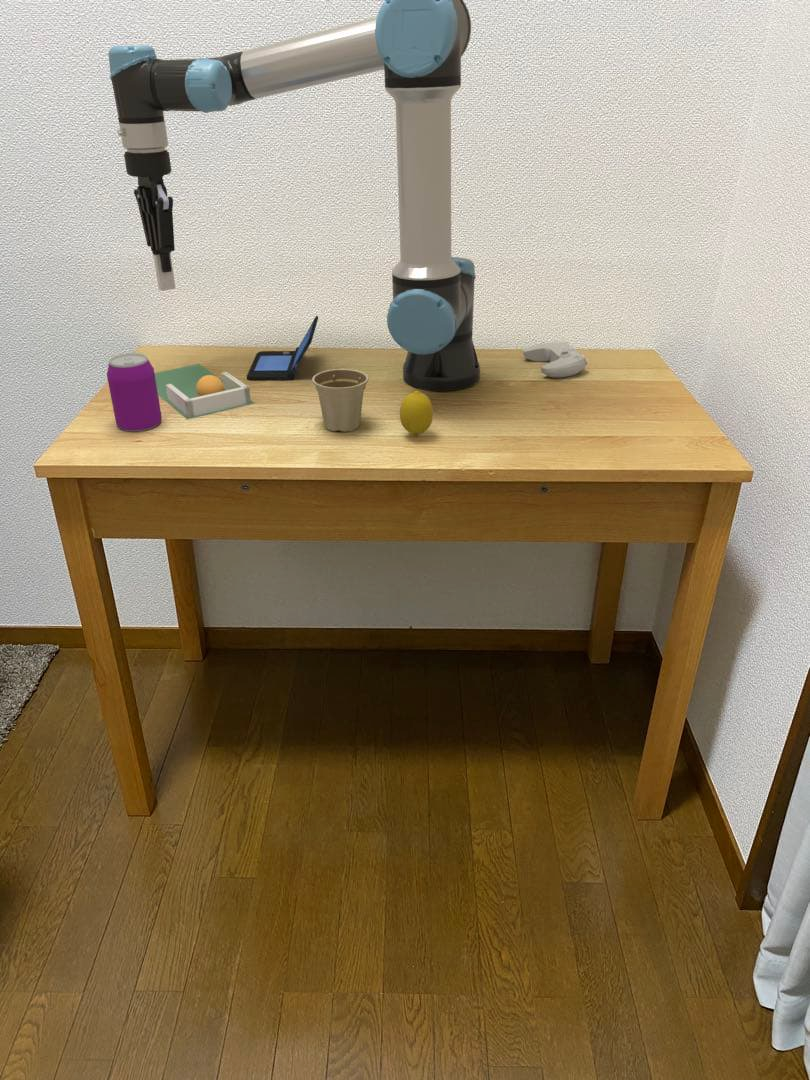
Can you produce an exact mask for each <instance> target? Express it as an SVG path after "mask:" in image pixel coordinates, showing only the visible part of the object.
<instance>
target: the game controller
mask: <svg viewBox="0 0 810 1080" xmlns="http://www.w3.org/2000/svg"><path fill="white" fill-rule="evenodd" d="M522 355H523V356H524V358H526V359H527V360H530V361H532V362H547V363H545V364H544V365H542V366H541V367H540V371H541V373H542V374H543V375H545V376H547V377H549V378H553V379H562V378H568V377H571V376H575V375H577V374H579V373H580V372H582V371H583V370H584V369H585V368H586V366H588V362H587V360H586V357H585V355H584V353H580V352H578V350H576V349H575V347H573V346H571V345H570V343H568V342H566V341H552V342H551V341H550V342H542V343H537V344H533V345H530V346H526V347H524V348H523V349H522Z"/></svg>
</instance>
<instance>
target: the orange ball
mask: <svg viewBox="0 0 810 1080" xmlns="http://www.w3.org/2000/svg"><path fill="white" fill-rule="evenodd" d="M216 376H217V375H215V376H213V375H206V376H204V377H202V378H201V379H200V380H199V381H198V382H197V385H196V392H197V395H198V396H199V397H200V396H204V395H209V394H213V393H218V392H222V391H224V385H223V383H222V381H221V380H222V379H221V378H220V377H218V376H217V377H218V378H217V377H216ZM219 378H220V379H221V380H220V379H219Z"/></svg>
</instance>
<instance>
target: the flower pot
mask: <svg viewBox="0 0 810 1080" xmlns="http://www.w3.org/2000/svg"><path fill="white" fill-rule="evenodd" d="M311 381H312V384H313V385H315V386H314V387H315V389H316V392H317V395H318V399H319V404H320V405H319V406H320V410H321V411H320V412H321V415H322V420H323V426H324V428H325V429H327V430H328V431H332V432H337V431H341V432H343V433H344V432H351V431H354V430H356V429H358V428H359V427H360V424H361V416H362V410H363V409H362V408H363V400H364V391H365V389H366V387H367V386H366V385H367V383H368V381H369V376H368V374H367V373H364V372H363V371H360V370H356V369H350V368H349V369H347V368H336V369H335V368H334V369H328V370H327V369H326V370H324V371H321V372H318V373H316V374H315V375H313V376H312V379H311Z"/></svg>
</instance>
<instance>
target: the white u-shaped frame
mask: <svg viewBox="0 0 810 1080" xmlns="http://www.w3.org/2000/svg"><path fill="white" fill-rule="evenodd" d="M221 378H222V379H221V380H222V381H223V385H224V389H226V391H222V392H218V393H213V394H209V395H204V396H200V397H195V398H191V399H189V398H188V397H187V396H186V395H184V394H183V393H182V392H181V391H179V390H178V389H177V388H176V387H174V386H173V385H172V384H167V385H166V390H167V397H168V401H170V402H171V403H172V404H173V405H174V406H175V407H177V408H178V409H179V410H180V411H181V412H183V413H184V414H185V415H186V416H187V417H189V418H190V417H194V416H198V415H203V414H207V413H211V412H215V411H219V410H224V409H228V408H232V407H236V406H241V405H245V404H249V403H251V401H252V399H251V390H250V387H249V386H248V385H246V384H245V383H244V382H242V381H241V380H239V379H237V378H236V377H235V376H233V375H232V374H230V373H229V372H228V371H223V372H221Z"/></svg>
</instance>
